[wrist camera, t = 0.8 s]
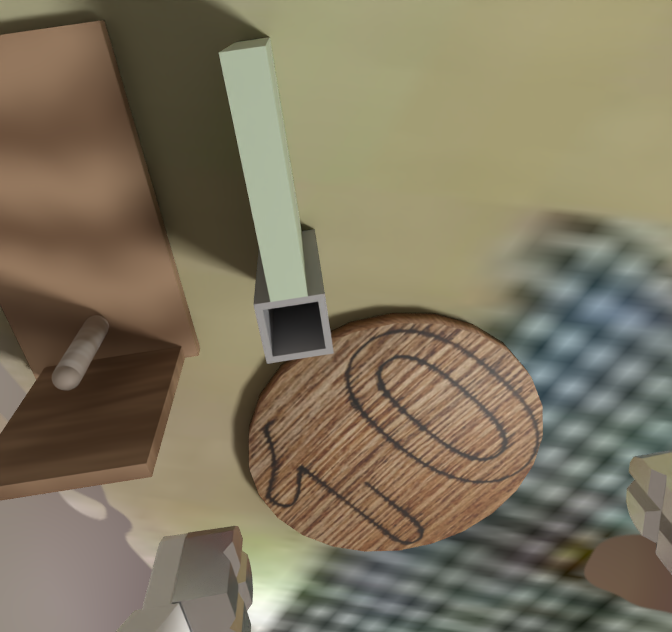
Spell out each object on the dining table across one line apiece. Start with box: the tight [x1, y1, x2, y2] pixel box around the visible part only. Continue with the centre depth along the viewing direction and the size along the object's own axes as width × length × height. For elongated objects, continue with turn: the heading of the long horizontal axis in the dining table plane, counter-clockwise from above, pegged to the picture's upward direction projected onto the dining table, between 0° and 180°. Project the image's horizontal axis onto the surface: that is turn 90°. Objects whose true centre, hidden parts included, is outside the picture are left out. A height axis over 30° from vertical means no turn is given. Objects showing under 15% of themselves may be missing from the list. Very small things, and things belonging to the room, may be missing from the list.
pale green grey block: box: [219, 37, 334, 364], centre depth 31 cm, size 16×4×10 cm, turn 7°
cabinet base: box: [0, 21, 200, 500], centre depth 30 cm, size 22×12×13 cm, turn 7°
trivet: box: [249, 313, 543, 551], centre depth 47 cm, size 25×25×2 cm
